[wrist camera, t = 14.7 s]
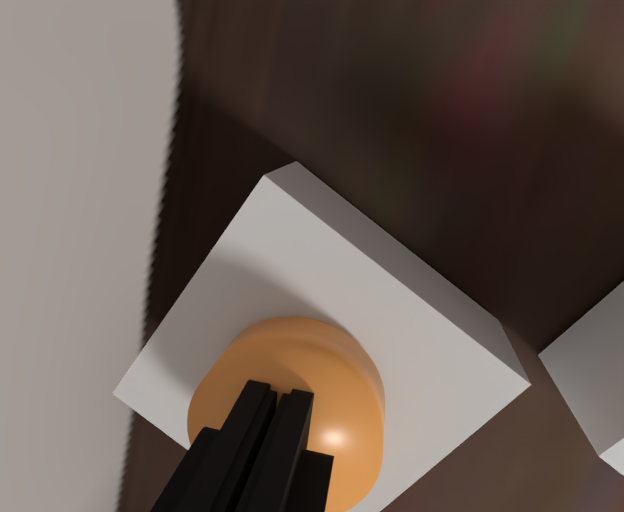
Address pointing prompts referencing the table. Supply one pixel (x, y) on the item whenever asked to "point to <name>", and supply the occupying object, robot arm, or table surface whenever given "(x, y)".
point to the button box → (335, 324)
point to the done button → (312, 378)
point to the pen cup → (594, 375)
